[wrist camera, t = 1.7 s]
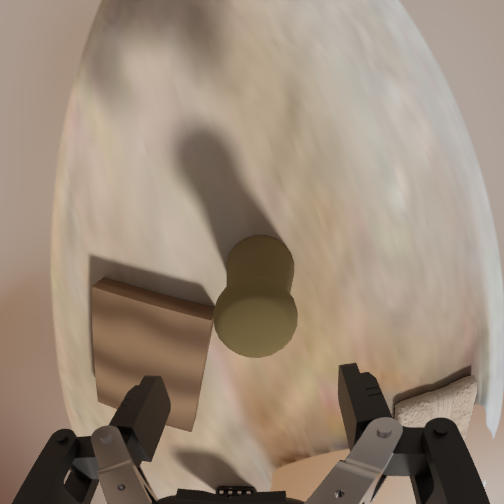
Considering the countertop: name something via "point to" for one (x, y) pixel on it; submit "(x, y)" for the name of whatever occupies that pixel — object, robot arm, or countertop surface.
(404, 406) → the washcloth
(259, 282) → the cork
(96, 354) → the walnut board
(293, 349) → the countertop surface
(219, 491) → the battery charger
